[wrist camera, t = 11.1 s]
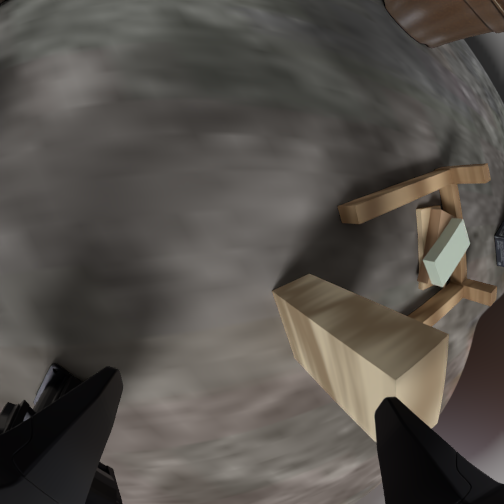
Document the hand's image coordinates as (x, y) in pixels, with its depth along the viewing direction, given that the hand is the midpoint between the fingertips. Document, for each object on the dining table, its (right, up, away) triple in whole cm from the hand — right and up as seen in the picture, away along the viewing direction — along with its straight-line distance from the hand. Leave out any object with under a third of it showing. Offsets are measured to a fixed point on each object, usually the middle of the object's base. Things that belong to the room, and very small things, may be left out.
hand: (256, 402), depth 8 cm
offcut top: (+20, +5, +17) cm, 27 cm away
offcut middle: (+20, +5, +19) cm, 28 cm away
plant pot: (+22, +39, +16) cm, 48 cm away
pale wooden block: (+4, -1, +15) cm, 16 cm away
